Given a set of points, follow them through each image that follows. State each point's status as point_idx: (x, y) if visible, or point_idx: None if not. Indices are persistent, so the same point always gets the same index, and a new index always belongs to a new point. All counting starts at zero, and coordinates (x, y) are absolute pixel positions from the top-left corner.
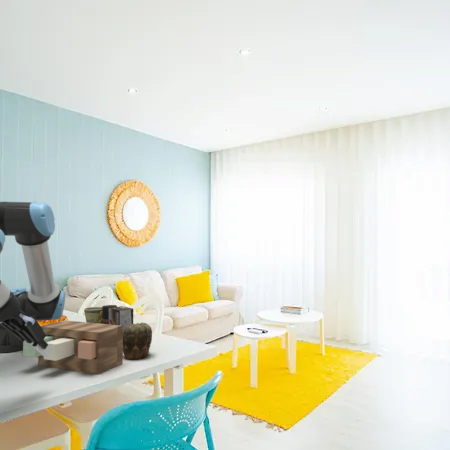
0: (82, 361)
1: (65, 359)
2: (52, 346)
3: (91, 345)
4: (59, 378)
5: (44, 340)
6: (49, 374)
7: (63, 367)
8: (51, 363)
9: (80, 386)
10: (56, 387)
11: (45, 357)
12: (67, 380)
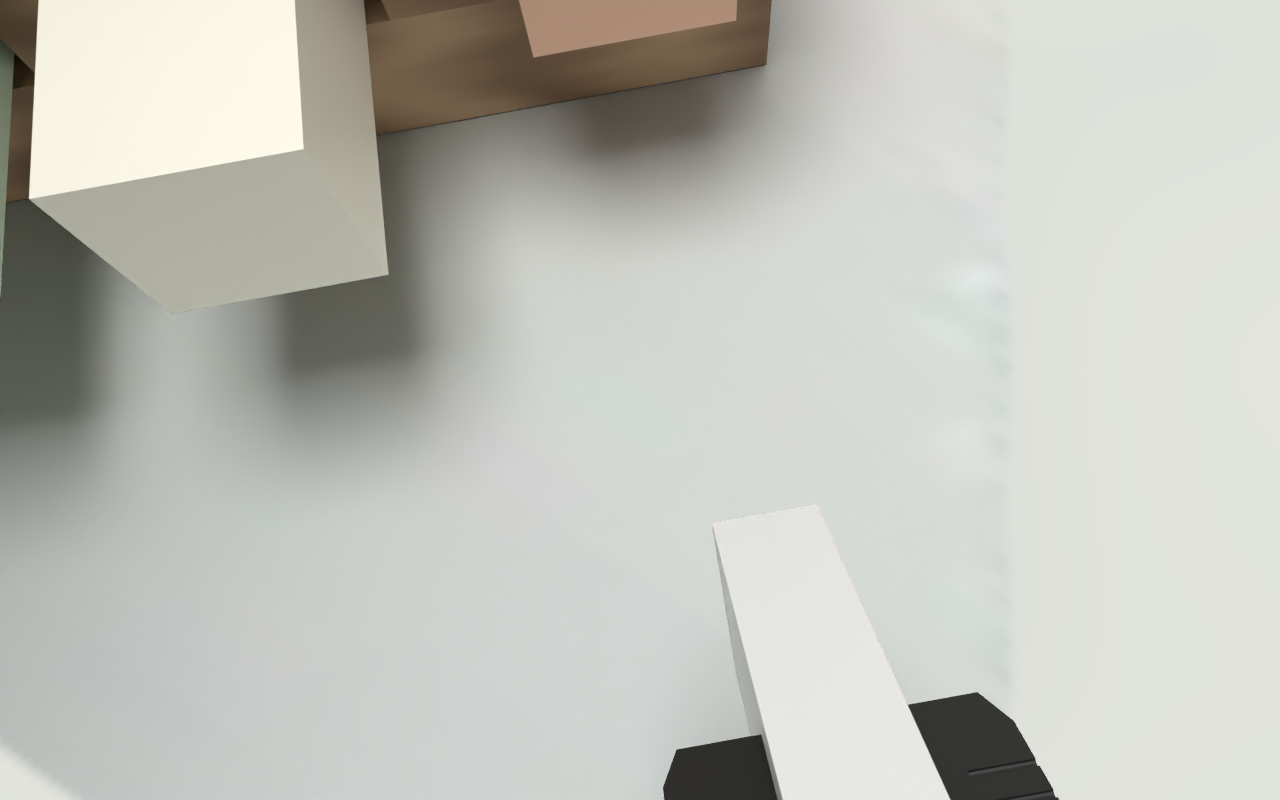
0: (523, 30)
1: None
2: (241, 185)
3: None
4: (515, 355)
5: (924, 747)
6: (301, 336)
7: None
8: None
9: (944, 385)
10: None
11: (189, 297)
12: (650, 347)
